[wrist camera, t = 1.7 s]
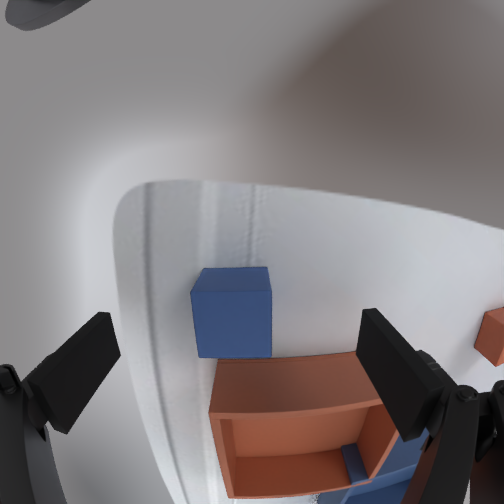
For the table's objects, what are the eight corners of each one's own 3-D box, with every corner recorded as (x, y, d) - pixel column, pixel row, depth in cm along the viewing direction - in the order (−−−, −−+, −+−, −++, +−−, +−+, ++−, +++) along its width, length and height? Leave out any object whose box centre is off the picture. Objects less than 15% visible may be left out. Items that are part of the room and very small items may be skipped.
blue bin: (340, 441, 21) (352, 482, 16) (464, 404, 21) (485, 430, 16) (316, 501, 26) (321, 529, 20) (418, 473, 25) (429, 496, 20)
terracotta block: (484, 311, 18) (510, 329, 14) (505, 306, 18) (529, 321, 14) (473, 347, 19) (495, 367, 15) (494, 339, 19) (515, 356, 15)
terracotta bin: (217, 358, 19) (208, 412, 13) (389, 345, 19) (421, 388, 13) (231, 455, 22) (228, 498, 16) (357, 444, 22) (371, 482, 16)
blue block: (203, 267, 17) (189, 291, 13) (267, 266, 17) (272, 290, 13) (208, 324, 18) (198, 358, 14) (267, 323, 18) (271, 357, 14)
